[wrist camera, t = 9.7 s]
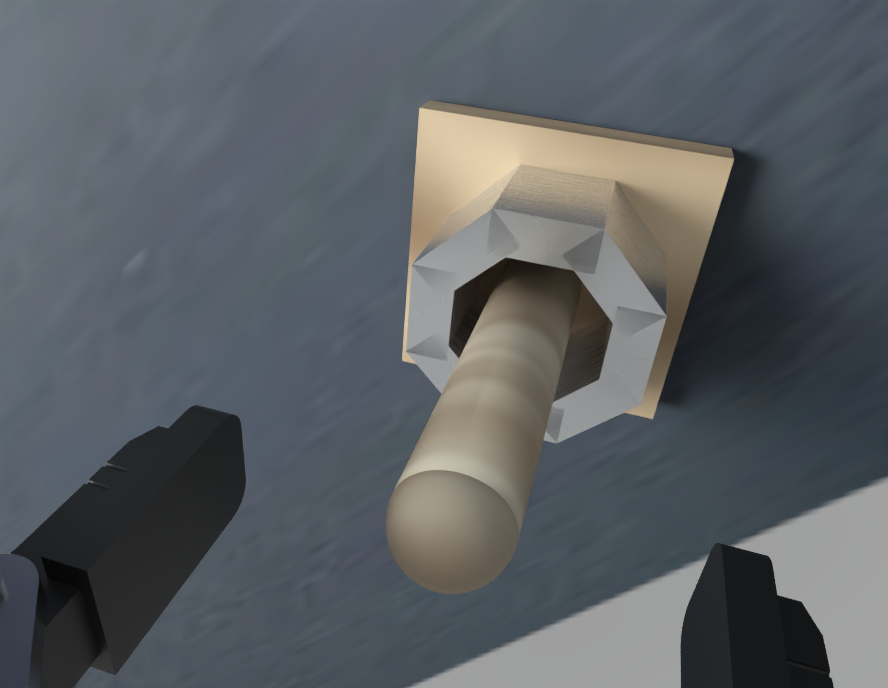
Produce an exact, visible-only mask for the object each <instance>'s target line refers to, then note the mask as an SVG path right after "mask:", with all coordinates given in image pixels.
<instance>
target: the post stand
mask: <svg viewBox="0 0 888 688" xmlns="http://www.w3.org/2000/svg"><path fill="white" fill-rule="evenodd" d="M733 162H734V156H733V152H732V148H727V147H721V146H715V145H709V144H702V143H696V142H690V141H683V140H677V139H671V138H665V137H658V136H652V135H646V134H640V133H633V132H627V131H621V130H614V129H608V128H602V127H596V126H589V125H583V124H577V123H570V122H564V121H558V120H552V119H545V118H539V117H533V116H527V115H520V114H514V113H508V112H501V111H495V110H489V109H483V108H476V107H470V106H464V105H458V104H451V103H445V102H439V101H432V100H430V101H429V102H427V103H426V104H424V105H423V106H421V107H420V109H419V123H418V138H417V152H416V166H415V181H414V195H413V210H412V224H411V239H410V253H409V268H408V282H407V297H406V311H405V326H404V340H403V355H402V361H405V362H410V363H414V364H416V363H415V362H414V361H413V359H412V358H411V357H410V356H409V355H408V353H407V352H406V343H407V329H408V314H409V300H410V285H411V271H412V264H413V262H414V261H415V260H416V258H417V257H418V256H419V255H420V253H421V252H422V251H423V249H424V248H425V247H426V246H427V244H428V243H429V242H430V240H431V239H432V238H433V237H434V235H435V234H436V233H437V231H438V230H439V229H440V228H441V226H442V225H443V224H444V222H445V221H446V220H447V219H448V217H449V216H450V215H451V214H453V213H454V212H455V211H457V210H458V209H460V208H461V207H462V206H464V205H465V204H466V203H468V202H469V201H471V200H472V199H473V198H475V197H476V196H478V195H479V194H480V193H482V192H483V191H484V190H486V189H487V188H489V187H490V186H491V185H493V184H494V183H495V182H497V181H498V180H500V179H501V178H502V177H504V176H505V175H507V174H508V173H509V172H511V171H512V170H513V169H515V168H516V167H518V166H519V165H520V164H521V165H527V166H533V167H539V168H545V169H551V170H556V171H562V172H568V173H574V174H580V175H586V176H592V177H598V178H603V179H609V180H615V181H616V182H617V184H618V185H619V187H620V188H621V190H622V191H623V192H624V194H625V195H626V197H627V198H628V200H629V201H630V203H631V204H632V205H633V207H634V208H635V210H636V211H637V213H638V214H639V216H640V217H641V218H642V220H643V221H644V223H645V224H646V226H647V227H648V229H649V230H650V231H651V233H652V234H653V236H654V237H655V239H656V240H657V242H658V243H659V244H660V246H661V247H662V249H663V250H664V252H665V253H666V255H667V256H668V266H667V317H666V321H665V324H664V328H663V331H662V334H661V338H660V341H659V344H658V348H657V351H656V355H655V358H654V361H653V365H652V368H651V372H650V375H649V378H648V382H647V385H646V389H645V392H644V395H643V399H642V402H641V405H640V406H637V407H635V408H633V409H631V410H629V411H626V412H624V413H629V414H633V415H637V416H642V417H646V418H650V419H653V417H654V413H655V410H656V407H657V404H658V401H659V398H660V394H661V391H662V388H663V385H664V382H665V378H666V375H667V372H668V369H669V366H670V362H671V359H672V356H673V353H674V350H675V347H676V343H677V340H678V337H679V334H680V331H681V327H682V324H683V321H684V318H685V315H686V311H687V308H688V305H689V302H690V299H691V296H692V292H693V289H694V286H695V283H696V280H697V276H698V273H699V270H700V267H701V264H702V260H703V257H704V254H705V251H706V248H707V245H708V241H709V238H710V235H711V232H712V229H713V225H714V222H715V219H716V216H717V213H718V209H719V206H720V203H721V200H722V197H723V194H724V190H725V187H726V184H727V181H728V178H729V174H730V171H731V168H732V165H733ZM480 288H481V289H482V290H483V292H484V293H485V294H486V295H487V297H488V298H489V299H488V301H487V303H486V305H485V307H484V309H483V311H482V313H481V315H480V317H479V319H478V322H477V324H476V326H475V328H474V330H473V332H472V334H471V336H470V338H469V340H468V342H467V344H466V346H465V348H464V350H463V352H462V354H461V356H460V358H459V360H458V362H457V364H456V366H455V368H454V370H453V372H452V374H451V376H450V378H449V380H448V382H447V384H446V386H445V388H444V390H443V392H442V394H441V396H440V398H439V400H438V402H437V404H436V406H435V408H434V410H433V412H432V414H431V416H430V418H429V420H428V422H427V424H426V427H425V429H424V431H423V433H422V435H421V437H420V439H419V441H418V443H417V445H416V447H415V449H414V451H413V453H412V455H411V457H410V459H409V461H408V463H407V465H406V467H405V469H404V471H403V473H402V475H401V477H400V479H399V481H398V483H397V485H396V487H395V489H394V491H393V493H392V496H391V498H390V501H389V504H388V507H387V513H386V536H387V541H388V545H389V547H390V550H391V553H392V555H393V557H394V559H395V561H396V562H397V564H398V565H399V567H400V568H401V569H402V570H403V572H404V573H405V574H406V575H407V576H409V577H410V578H411V579H412V580H413V581H415V582H416V583H418V584H419V585H421V586H423V587H425V588H427V589H429V590H432V591H436V592H440V593H448V594H460V593H466V592H470V591H473V590H476V589H479V588H481V587H483V586H485V585H486V584H488V583H490V582H491V581H492V580H494V579H495V578H496V577H497V576H498V575H499V574H500V573H501V572H502V571H503V570H504V569H505V567H506V566H507V565H508V563H509V561H510V560H511V558H512V556H513V554H514V552H515V549H516V546H517V543H518V539H519V535H520V531H521V527H522V523H523V519H524V515H525V511H526V507H527V503H528V499H529V495H530V491H531V487H532V483H533V479H534V475H535V471H536V468H537V464H538V460H539V456H540V452H541V448H542V444H543V440H544V436H545V432H546V428H547V424H548V420H549V416H550V412H551V408H552V404H553V400H554V396H555V392H556V388H557V384H558V380H559V376H560V372H561V368H562V364H563V360H564V356H565V352H566V348H567V344H568V340H569V336H570V335H572V334H573V333H575V332H577V331H579V330H581V329H583V328H584V327H586V326H588V325H590V324H592V323H594V322H595V321H597V320H599V319H601V318H603V317H605V316H607V315H606V313H605V312H604V311H603V309H602V308H601V307H600V305H599V304H598V303H597V301H596V300H595V299H594V297H593V296H592V294H591V293H590V292H589V290H588V289H587V288H586V286H585V285H584V284H583V282H582V281H581V280H580V278H579V277H578V275H577V274H576V273H575V271H573V270H568V269H563V268H558V267H553V266H548V265H542V264H537V263H532V262H527V261H522V260H517V259H512V258H507V257H505V258H504V259H502V260H501V261H499V262H498V263H496V264H495V265H493V266H491V267H490V268H488V269H487V270H485V271H484V272H482V274H481V282H480Z"/></svg>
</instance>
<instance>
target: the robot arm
mask: <svg viewBox="0 0 888 688" xmlns="http://www.w3.org/2000/svg"><path fill="white" fill-rule="evenodd" d="M245 484H246V477H245V465H244V453H243V441H242V430H241V422H240V419H239V418H238V417H237V416H236V415H233V414H229V413H225V412H221V411H217V410H214V409H210V408H206V407H202V406H198V405H195V406H192V407H190V408H189V409H188V410H187V411H186V412H185V413H184V414H183V415H182V416H180V417H179V418H178V419H177V420H176V421H175V422H174V423H173V424H172V425H171V426H170V427H169V428H168V429H167V428H164V427H160V426H158V427H156V428H154V429H152V430H150V431H148V432H146V433H144V434H143V435H141V436H139V437H137V438H135V439H133V440H131V441H129V442H128V443H127V444H126V445H125V446H124V447H123V448H122V449H121V450H120V451H118V452H117V453H116V454H115V455H114V456H113V457H112V458H111V459H110V460H109V461H108V462H107V465H106V467H102V468H101V469H99V470H98V471H97V472H96V473H95V474H94V475H93V476H92V477H91V478H90V479H89V482H88V484H84V485H83V486H82V487H81V488H79V489H78V490H77V491H76V492H75V493H74V494H73V495H72V496H71V497H70V498H69V499H68V500H67V501H66V502H65V503H64V504H63V505H62V506H60V507H59V508H58V509H57V510H56V511H55V512H54V513H53V514H52V515H51V516H50V517H49V518H48V519H47V520H46V521H45V522H44V523H43V524H41V525H40V526H39V527H38V528H37V529H36V530H35V531H34V532H33V533H32V534H31V535H30V536H29V537H28V538H27V539H26V540H25V541H24V542H23V543H21V544H20V545H19V546H18V547H17V548H16V549H15V550H14V551H12V552H11V553H10V554H8V553H0V688H76V686H75V685H76V684H77V682H78V681H79V680H80V678H81V677H82V676H83V675H84V673H85V672H86V671H87V670H88V668H89V667H90V666H91V667H94V668H96V669H99V670H102V671H105V672H108V673H111V674H114V675H116V674H117V673H118V671H119V670H120V669H121V667H122V666H123V665H124V663H125V662H126V660H127V659H128V658H129V656H130V655H131V654H132V652H133V651H134V650H135V648H136V647H137V646H138V644H139V643H140V642H141V640H142V639H143V638H144V636H145V635H146V634H147V632H148V631H149V630H150V628H151V627H152V626H153V624H154V623H155V621H156V620H157V619H158V617H159V616H160V615H161V613H162V612H163V611H164V609H165V608H166V607H167V605H168V604H169V603H170V601H171V600H172V599H173V597H174V596H175V595H176V593H177V592H178V591H179V589H180V588H181V587H182V585H183V584H184V582H185V581H186V580H187V578H188V577H189V576H190V574H191V573H192V572H193V570H194V569H195V568H196V566H197V565H198V564H199V562H200V561H201V560H202V558H203V557H204V556H205V554H206V553H207V552H208V550H209V549H210V548H211V546H212V545H213V543H214V542H215V541H216V539H217V538H218V537H219V535H220V534H221V533H222V531H223V530H224V529H225V527H226V526H227V525H228V523H229V522H230V521H231V519H232V518H233V517H234V515H235V514H236V512H237V510H238V508H239V506H240V504H241V501H242V498H243V495H244V491H245ZM829 673H830V668H829V663H828V658H827V654H826V649H825V644H824V639H823V636H822V634H821V632H820V631H819V629H818V628H817V626H816V624H815V623H814V621H813V620H812V618H811V616H810V615H809V613H808V612H807V610H806V609H805V607H804V605H803V604H802V602H800V601H796V600H792V599H789V598H785V597H782V596H778V595H777V591H776V584H775V579H774V571H773V566H772V562H771V560H770V558H769V557H768V556H766V555H762V554H758V553H754V552H750V551H747V550H743V549H739V548H735V547H732V546H728V545H724V544H720V543H716V544H715V545H714V547H713V548H712V550H711V552H710V555H709V557H708V559H707V562H706V564H705V567H704V569H703V571H702V573H701V576H700V578H699V580H698V583H697V585H696V588H695V590H694V592H693V595H692V597H691V599H690V602H689V604H688V607H687V610H686V614H685V617H684V622H683V627H682V635H681V688H834V687H833V682H832V679H831V678H830V677H829Z"/></svg>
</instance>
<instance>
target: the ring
mask: <svg viewBox="0 0 888 688" xmlns="http://www.w3.org/2000/svg"><path fill="white" fill-rule="evenodd" d="M505 257H507V258H512V259H517V260H522V261H527V262H532V263H537V264H542V265H548V266H553V267H558V268H563V269H568V270H573V271H575V273H576V274H577V275H578V277H579V278H580V280H581V281H582V282H583V284H584V285H585V286H586V288H587V289H588V290H589V292H590V293H591V294H592V296H593V297H594V299H595V300H596V301H597V303H598V304H599V305H600V307H601V308H602V309H603V311H604V312H605V313H606V315H607V316H605V317H603V318H601V319H599V320H597V321H595V322H594V323H592V324H590V325H588V326H586V327H584V328H583V329H581V330H579V331H577V332H575V333H573V334H572V335H570V336H569V340H568V344H567V348H566V352H565V356H564V360H563V364H562V368H561V372H560V376H559V380H558V384H557V388H556V392H555V396H554V400H553V404H552V408H551V412H550V416H549V420H548V424H547V428H546V432H545V436H544V440H545V441H549V442H553V443H558V442H561V441H563V440H565V439H567V438H569V437H572V436H574V435H576V434H578V433H580V432H583V431H585V430H587V429H589V428H591V427H594V426H596V425H598V424H600V423H602V422H605V421H607V420H609V419H611V418H613V417H615V416H618V415H620V414H622V413H624V412H626V411H629V410H631V409H633V408H635V407H637V406H640V405H641V402H642V399H643V395H644V392H645V389H646V385H647V382H648V378H649V375H650V372H651V368H652V365H653V361H654V358H655V355H656V351H657V348H658V344H659V341H660V338H661V334H662V331H663V328H664V324H665V321H666V317H667V266H668V256H667V255H666V253H665V252H664V250H663V249H662V247H661V246H660V244H659V243H658V242H657V240H656V239H655V237H654V236H653V234H652V233H651V231H650V230H649V229H648V227H647V226H646V224H645V223H644V221H643V220H642V218H641V217H640V216H639V214H638V213H637V211H636V210H635V208H634V207H633V205H632V204H631V203H630V201H629V200H628V198H627V197H626V195H625V194H624V192H623V191H622V190H621V188H620V187H619V185H618V184H617V182H616V181H615V180H609V179H603V178H598V177H592V176H586V175H580V174H574V173H568V172H562V171H556V170H551V169H545V168H539V167H533V166H527V165H521V164H520V165H519V166H518V167H516V168H515V169H513V170H512V171H511V172H509V173H508V174H507V175H505V176H504V177H502V178H501V179H500V180H498V181H497V182H495V183H494V184H493V185H491V186H490V187H489V188H487V189H486V190H484V191H483V192H482V193H480V194H479V195H478V196H476V197H475V198H473V199H472V200H471V201H469V202H468V203H466V204H465V205H464V206H462V207H461V208H460V209H458V210H457V211H455V212H454V213H453V214H451V215H450V216H449V217H448V219H447V220H446V221H445V222H444V224H443V225H442V226H441V228H440V229H439V230H438V231H437V233H436V234H435V235H434V237H433V238H432V239H431V240H430V242H429V243H428V244H427V246H426V247H425V248H424V249H423V251H422V252H421V253H420V255H419V256H418V257H417V258H416V260H415V261H414V262H413V264H412V271H411V285H410V300H409V314H408V329H407V343H406V352H407V353H408V355H409V356H410V357H411V358H412V359H413V361H414V362H415V363H416V364H417V365H418V366H419V368H420V369H421V370H422V371H423V372H424V374H425V375H426V376H427V377H428V378H429V379H430V381H431V382H432V383H433V384H434V385H435V387H436V388H437V389H438V390H439V391H440V392H441V394H442V392H443V390H444V388H445V386H446V384H447V382H448V380H449V378H450V376H451V374H452V372H453V370H454V368H455V366H456V364H457V362H458V360H459V358H460V356H461V354H462V352H463V350H464V348H465V346H466V344H467V342H468V340H469V338H470V336H471V334H472V332H473V330H474V328H475V326H476V324H477V322H478V319H479V317H480V315H481V313H482V311H483V309H484V307H485V305H486V303H487V301H488V299H489V298H488V297H487V295H486V294H485V293H484V292H483V290H482V289H481V288H480V282H481V274H482V272H484V271H485V270H487V269H488V268H490V267H491V266H493V265H495V264H496V263H498V262H499V261H501V260H502V259H504V258H505Z"/></svg>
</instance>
